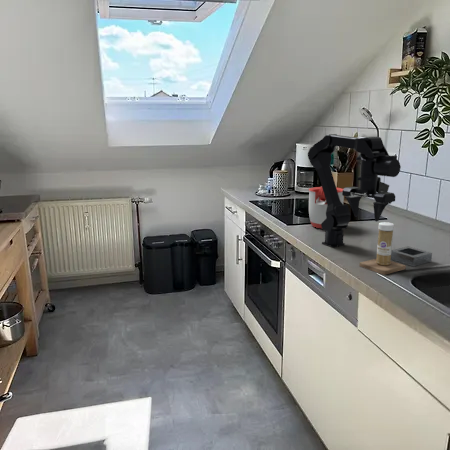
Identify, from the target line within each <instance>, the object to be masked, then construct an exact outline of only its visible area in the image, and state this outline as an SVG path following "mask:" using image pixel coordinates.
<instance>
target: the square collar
mask: <svg viewBox="0 0 450 450" xmlns="http://www.w3.org/2000/svg"><path fill="white" fill-rule="evenodd" d="M432 256H433V252H431V251H426V250H422V249H419V248H415V247H411V246H408V245H407V246H404V247H398V248H394V249H392V251H391V260H390V261H394V262H397V263H400V264H403V265H406V266H407V265H408V266H411V267H416V266H420V265H424V264H427V263H430V262H432V259H433V258H432Z"/></svg>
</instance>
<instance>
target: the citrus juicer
mask: <svg viewBox="0 0 450 450" xmlns="http://www.w3.org/2000/svg"><path fill="white" fill-rule="evenodd" d="M336 189H337V192H338V195H339V198H340V201H341V203H342V204H343V205H344V201H345V196H342V191H343V189H344V188H340V187H336ZM308 193H309V194H308V214H309V215H308V216H309V220H310V221H309V222H310V224H311V226H312V227H313V228H315V227H316V229H322V227H321V223H322V222H323V221H324V220H325V219H326V210H327V202H326V198H325V195H324V192H323V188H322V186H315V187H310V188H308Z"/></svg>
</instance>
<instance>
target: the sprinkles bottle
mask: <svg viewBox="0 0 450 450" xmlns="http://www.w3.org/2000/svg"><path fill="white" fill-rule="evenodd" d="M377 229H378V237H377V246H376V258H377V260H376V263H377V264H379V265H390V264H391V262H390V261H392V260H391V251H392V250H393V235H394V234H393V233H394V229H395V224H394V223H392V222H389V221H387V222H385V221H383V222H382V221H381V222H379V223H378V227H377Z"/></svg>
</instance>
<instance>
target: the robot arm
mask: <svg viewBox="0 0 450 450" xmlns="http://www.w3.org/2000/svg"><path fill="white" fill-rule="evenodd" d="M336 147H341V148H345V149H352V150H355V152H357V153H359V154H360V155H358V156H357V157H356V158H355V160H356V161H360V171H359V173H360V175H359V176H358V177H357V180H358V181H359V187H357V186H347V187H344V188H342V189H343V191H342V196H344V199H346V201H347V202H348V204H349V205H348V204H344V203H343V204H342V203H341V201H340V198H339V195H338V192H337V189H336V188H337V186H336V183H335V180H334V176H333V172H332V169H331V163H332V155H333V153H334V152H335V150H336ZM307 158H308V160H309V163H310V165H311V166H312V167H313V168H314V169H315V170H316V172H317V175H318V178H319V181H320V184H321V187H322V188H323V192H324V195H325V198H326V202H327V210H326V219H325V220H324V221H323V222H322V223H321V227H322V228H321V230H323V231H325V233H324V234H325V235H324V241H322V242H321V244H323V245H325V246H328V247H331V248H337V247H342V246H345V245H346V243H345V242H344V230H345V229H347V228H348V226H349V223H350V222H351V214H352V213H353V215H354V217H355V218H356V217H359V216H358V215H359V207H360V201H361V199H362V197H365V198H371V199H373V200H374V202H373V213H374V215H373V216H374V222H379V220H380V219H381V217H382V213H383V211H384V210H385V208H386V207H387V206H388V205H391V204H392V203H394V202H396V195H395V193H394V192H389V188H390V184H387V183H385V182H383V181H381V176H382V177H390V178H396V177H397V176H398V175H399V173H400V172H401V167H402V166H401V163H400V161H399V160H398V156H397V155H390V154H389V153H388V151H387V149H386V147H385V145H384V142H383V139H382V137H380V136H362V137H356V136H347V135H340V134H337V133H333V134H332V133H330V134H326V135H325V136H323V138H322V139H321V140H319V141H317V142H316V143H314V144H313V146H311V147H310V148H309V149H308V152H307ZM349 206H350V208H349ZM350 209H351V211H352V213H351V212H350Z"/></svg>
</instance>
